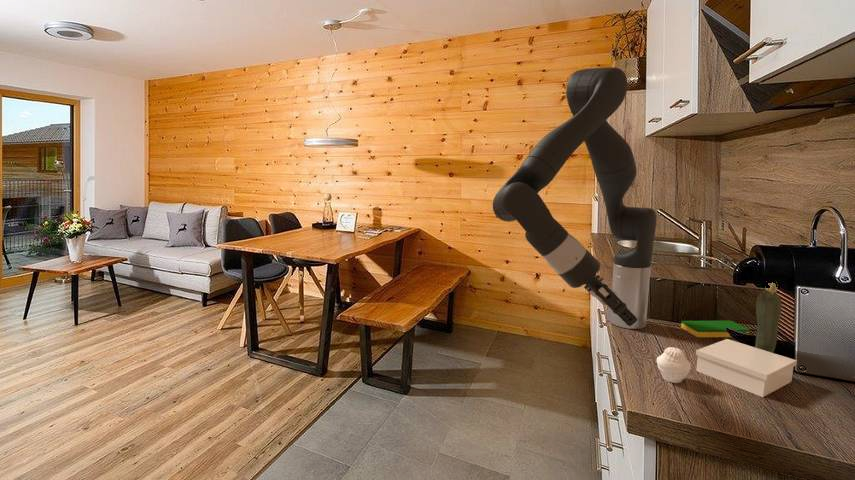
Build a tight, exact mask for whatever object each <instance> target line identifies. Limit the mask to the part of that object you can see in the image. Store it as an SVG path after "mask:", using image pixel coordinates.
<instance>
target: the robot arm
mask: <svg viewBox="0 0 855 480" xmlns="http://www.w3.org/2000/svg"><path fill="white" fill-rule="evenodd" d="M628 85H629V84H628V78H627V75H626V73H625V72H624V70H623V69H621V68H618V67H609V66H608V67H606V66H605V67H593V68H592V67H591V68H583V69H579V70H578V69H577V70H576V71H574V72H573V73H572V74H571V75H570V76H569V78H568V80H567V82H566V88H565V90H566V91H565V92H566V93H565V95H566V100H567V101H566V102H567V105H568V107H569V110H570V113H571V114H572V116H571V117H570V118H569V119H568V120H567V121H565V122H563V123H561V124H560V125H559V126H557V127H555V128H554V129H553V130H551V131H549V132H548V133H547V134H546V135H544V136H543V137H542V138H541V139H540V140H538V142H537V144H536V145H535V146H534V147H533V149H531V151H530V152H529V153H528V155H527V156H526V157H525V158H524V160H523V162H522V163H521V165H520V166H519V168H518V169H517V170H516V172H514V174H512V175H511V177H509V178H508V180H506V182H505V183H504V184H503V185H502V187H500V189H499V190H498V191H497V192H496V194H495V196H494V197H493V201H492V210H493V213H494V215H495V216H496V217H497V218H498V219H499V220H500V221H503V222H509V223H510V222H515V221H517V223H519V225H520V226H521V228H522V229H523V230H524V231H525V239H526V241H527V242H528V243H529V245H531V247H532V248H534V249H535V251H536V252H537V253H539V255H541V257H542V258H543V259H544V260H545V262H546V263H547V265H548V266H549V267H551V269H553V271H554V272H555V273H556V274H558V275H559V277H560V278H561V279H562V280H563V281H564V282H566V284H567V285H569V287H570V288H573V289H577V288H581V287H583V289H585V291H587V292H588V293H589V294H590V295H591V296H592V297H593V298H595V299H597V300H598V301H599V302H600V304H602V306H603V307H607V312H606V315H607V316H606V321H607V322H610V323H611V324H612V325H614V326H617V327H620V328H622V329H623V328H624V329H628V330H629V329H631V330H641V329H644V328H646V326H647V316H648V304H649V303H648V302H649V290H650V282H651V281H650V280H651V279H650V278H651V266H652V257H653V250H654V242H655V237H656V235H655V234H656V229H657V214H656V211H655V210H654V208H651V207H650V208H649V207H638V206H636V207H635V206H626V205H625V204H624V202H623V201H624V200H623V199H624V197H625V195H626V194H627V193H628V191H629V189H630V188H631V186H632V185H633V183H634V181H635V179H636V176H637V166H636V161H635V157H634V153H633V150H632V148H631V146H630V145H629V143H628V142H627V140H626V139H624V138H623V136H622V135H621V134H620V133H619V132H617V130H616V129H614V128H613V127H612V126H611V124H610V123H609V122H608V121H607V120H608V119H609V118H610V117H611V116H612V115H614V114H615V112H616V111H617V110H618V109H619V108H620V106H621V105H622V103H623V102H624V100H625V98H626V95H627V92H628ZM583 143H584V144H585V146H586V150H587V152H588V155H589V158H590V160H591V165H592V168H593V171H594V174H595V177H596V180H597V182H598V185H599V189H600V191H601V192H600V193H601V194H602V198H603V201H604V206H605V211H606V216H607V221H608V225H609V229H610V233H611V234H612V236H613V237H614V238H615V239H618V240H623V241H633V242H634V241H635V242H636V245H635V246H634V247H633V248H631V249H628V250H624V251H619V252H616V253H615V254H614V257H613V268H612V269H613V272H612V284H611V285H612V287H611V286H610V285H609V283H608V282H607V281H606V280H605V278H603V277H601V276H600V275H599V274H598V272H599V271H600V268H601V263H600V261H599V260H598V259H597V258H596V257H595V256H594V255H593V254H592V253H591V252H590V251H589V250H588V248H587V247H585V246H584V245H583V244H582V243H581V242H580V241H579V240H578V239H577V238H575V237H574V235H572V234H570V233H569V232H568V230H566V229H565V228H564V227H563V225H561V223H559V221H557V219H556V218H554V217H553V215H552V213H551V211H550V209H549V208H548V206H547V205H546V203H545V202H544V200H543V199H542V197H541V196H540V194H539V193H540V192H541V190H543V189H544V188H546V187H548V185H550V184H551V182H552V181H553V180H554V178H556V176H557V175H558V173H559V172H560V170H561V169H562V168H563V166H564V165H565V164H566V162H567V161H568V160H569V159H570V157H571V156H572V155H573V154H574V152H575V151H576V150H578V148H579V147H580V146H582V144H583Z"/></svg>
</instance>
